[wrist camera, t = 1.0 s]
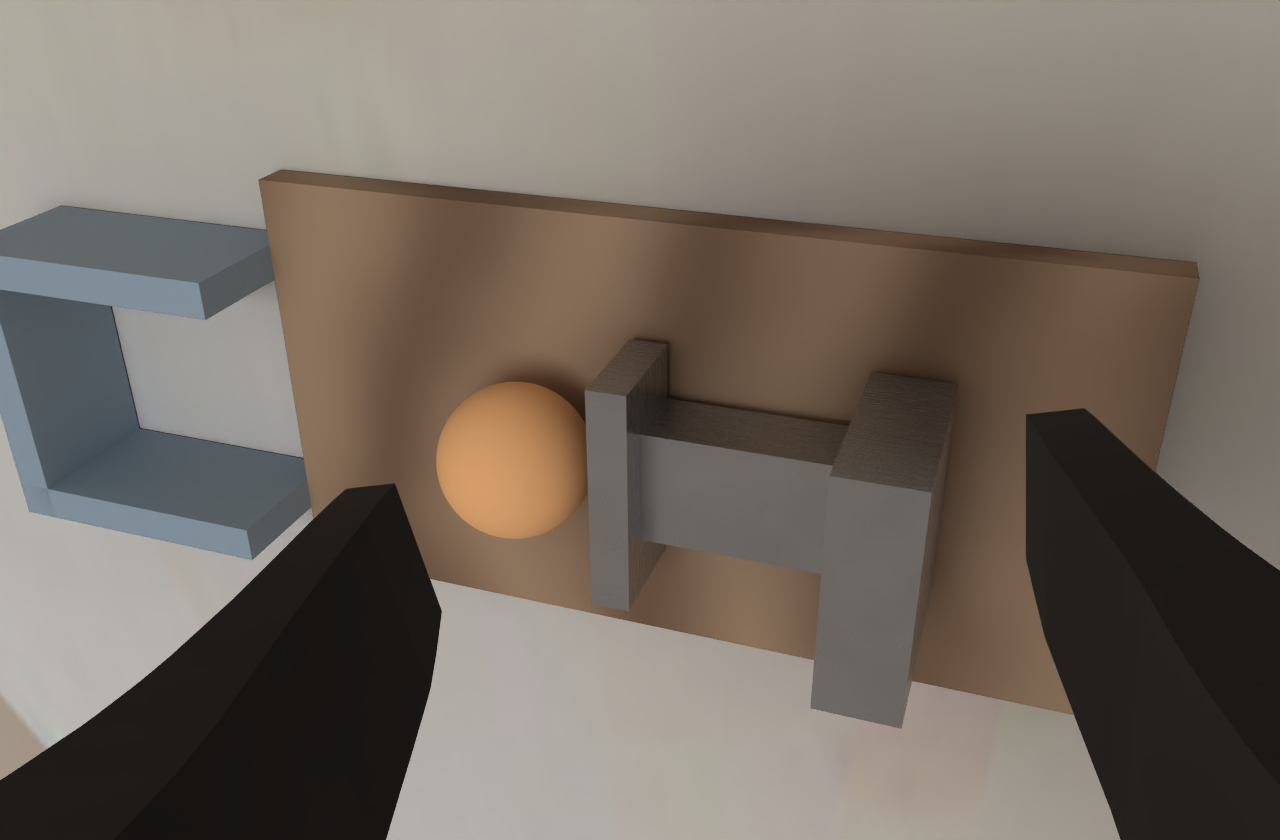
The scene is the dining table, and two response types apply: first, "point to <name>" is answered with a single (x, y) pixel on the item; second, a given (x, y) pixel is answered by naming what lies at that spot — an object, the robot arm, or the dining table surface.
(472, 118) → the dining table surface
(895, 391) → the grey h-shaped block
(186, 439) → the cup
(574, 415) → the ball
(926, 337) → the launcher board
